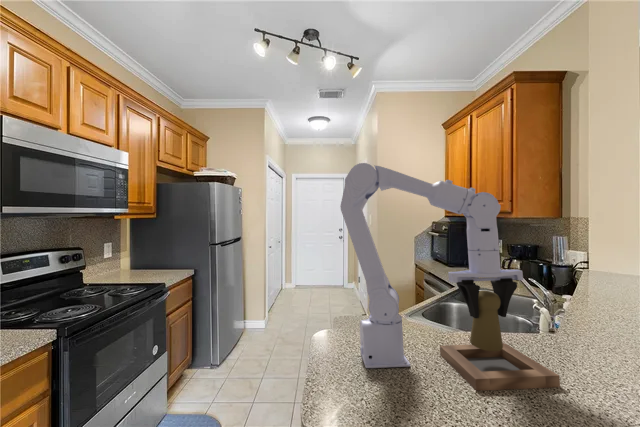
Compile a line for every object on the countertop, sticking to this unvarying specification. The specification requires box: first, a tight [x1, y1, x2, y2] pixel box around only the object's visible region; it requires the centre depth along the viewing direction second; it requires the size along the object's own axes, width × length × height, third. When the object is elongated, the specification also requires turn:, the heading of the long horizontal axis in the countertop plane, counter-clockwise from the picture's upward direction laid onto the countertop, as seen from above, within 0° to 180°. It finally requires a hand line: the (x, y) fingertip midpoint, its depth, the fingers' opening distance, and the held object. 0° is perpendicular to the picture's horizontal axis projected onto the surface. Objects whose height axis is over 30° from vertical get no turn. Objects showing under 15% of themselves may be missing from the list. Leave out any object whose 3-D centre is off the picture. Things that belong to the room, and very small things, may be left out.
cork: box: [469, 290, 504, 351], centre depth 60 cm, size 6×6×11 cm
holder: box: [439, 342, 561, 392], centre depth 59 cm, size 15×15×2 cm
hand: (487, 316), depth 59 cm, fingers closed on cork, 5 cm apart
